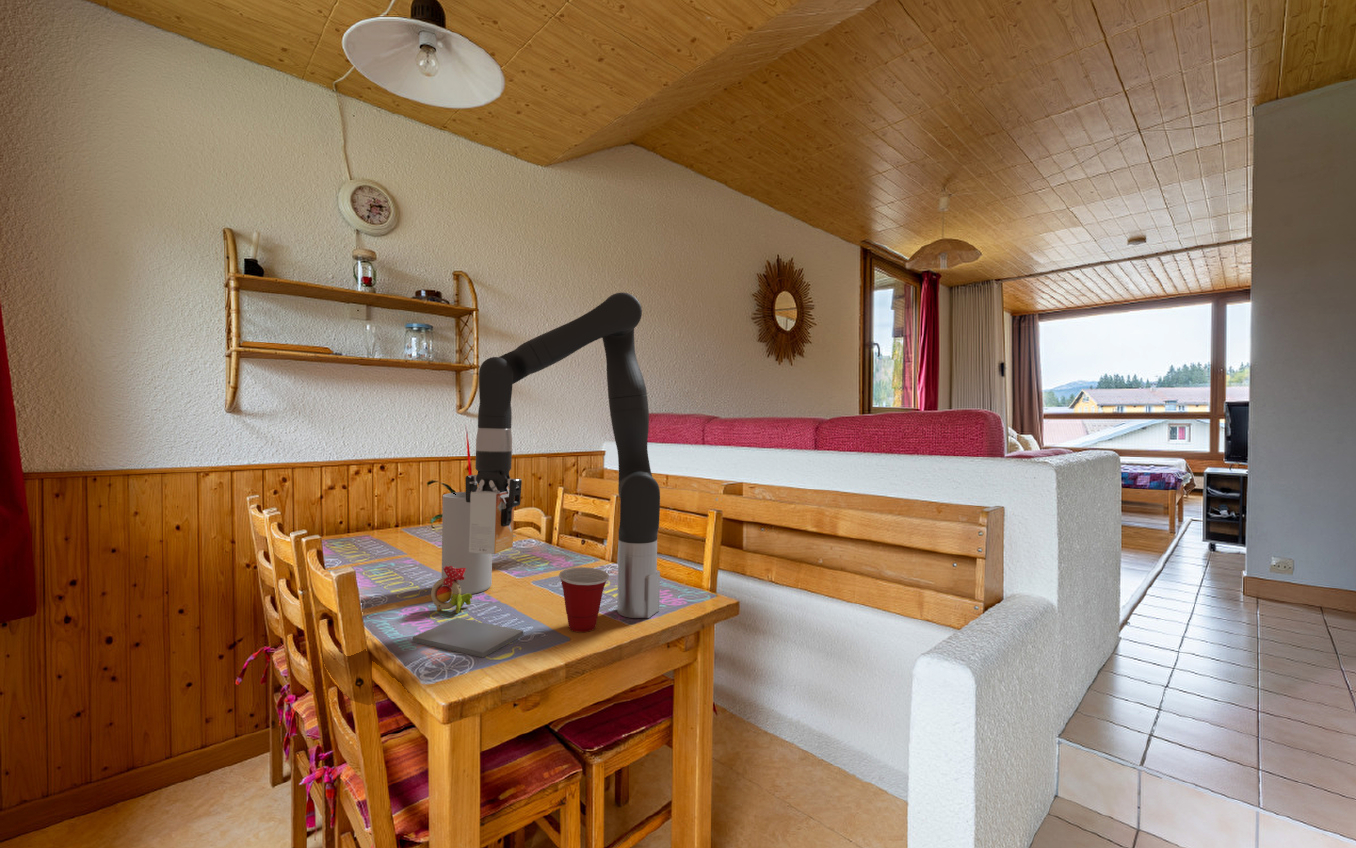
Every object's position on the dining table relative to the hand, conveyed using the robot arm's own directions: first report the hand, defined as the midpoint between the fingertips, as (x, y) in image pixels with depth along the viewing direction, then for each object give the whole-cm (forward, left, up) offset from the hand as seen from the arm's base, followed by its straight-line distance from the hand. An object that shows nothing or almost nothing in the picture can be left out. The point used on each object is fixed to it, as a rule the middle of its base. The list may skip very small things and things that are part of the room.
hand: (491, 524), depth 122 cm
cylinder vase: (+24, -18, -22) cm, 37 cm away
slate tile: (-1, +8, -22) cm, 24 cm away
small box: (0, 0, -6) cm, 6 cm away
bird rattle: (+15, -3, -22) cm, 27 cm away
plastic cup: (-19, -7, -22) cm, 30 cm away
